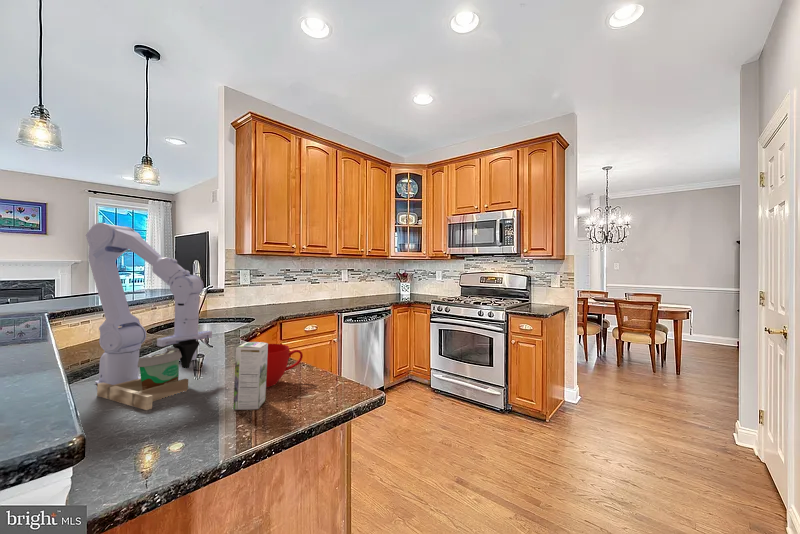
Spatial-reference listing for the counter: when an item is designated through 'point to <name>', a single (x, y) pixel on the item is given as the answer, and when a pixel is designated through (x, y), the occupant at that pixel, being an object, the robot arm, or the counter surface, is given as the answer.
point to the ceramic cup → (278, 362)
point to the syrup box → (250, 375)
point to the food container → (160, 368)
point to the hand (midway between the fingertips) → (185, 367)
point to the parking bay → (139, 392)
